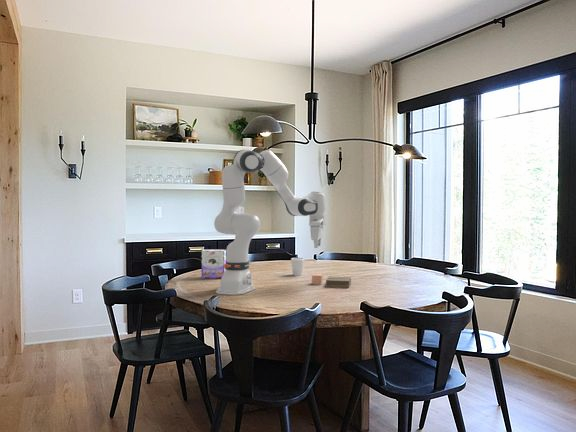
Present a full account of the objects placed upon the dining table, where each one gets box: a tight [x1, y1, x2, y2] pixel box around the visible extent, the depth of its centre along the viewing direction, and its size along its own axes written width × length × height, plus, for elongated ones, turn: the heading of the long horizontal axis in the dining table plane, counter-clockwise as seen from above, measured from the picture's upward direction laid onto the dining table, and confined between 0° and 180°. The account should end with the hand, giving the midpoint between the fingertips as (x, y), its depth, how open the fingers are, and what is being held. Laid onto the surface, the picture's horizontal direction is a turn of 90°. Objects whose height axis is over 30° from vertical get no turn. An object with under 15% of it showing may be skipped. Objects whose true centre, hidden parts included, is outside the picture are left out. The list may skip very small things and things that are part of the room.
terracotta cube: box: [311, 273, 323, 286], centre depth 256 cm, size 5×5×5 cm
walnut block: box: [325, 275, 352, 289], centre depth 252 cm, size 12×12×4 cm
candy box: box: [200, 249, 227, 279], centre depth 274 cm, size 14×6×16 cm, turn 84°
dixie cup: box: [290, 257, 305, 277], centre depth 284 cm, size 8×8×10 cm
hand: (317, 246), depth 255 cm, fingers open, 8 cm apart
